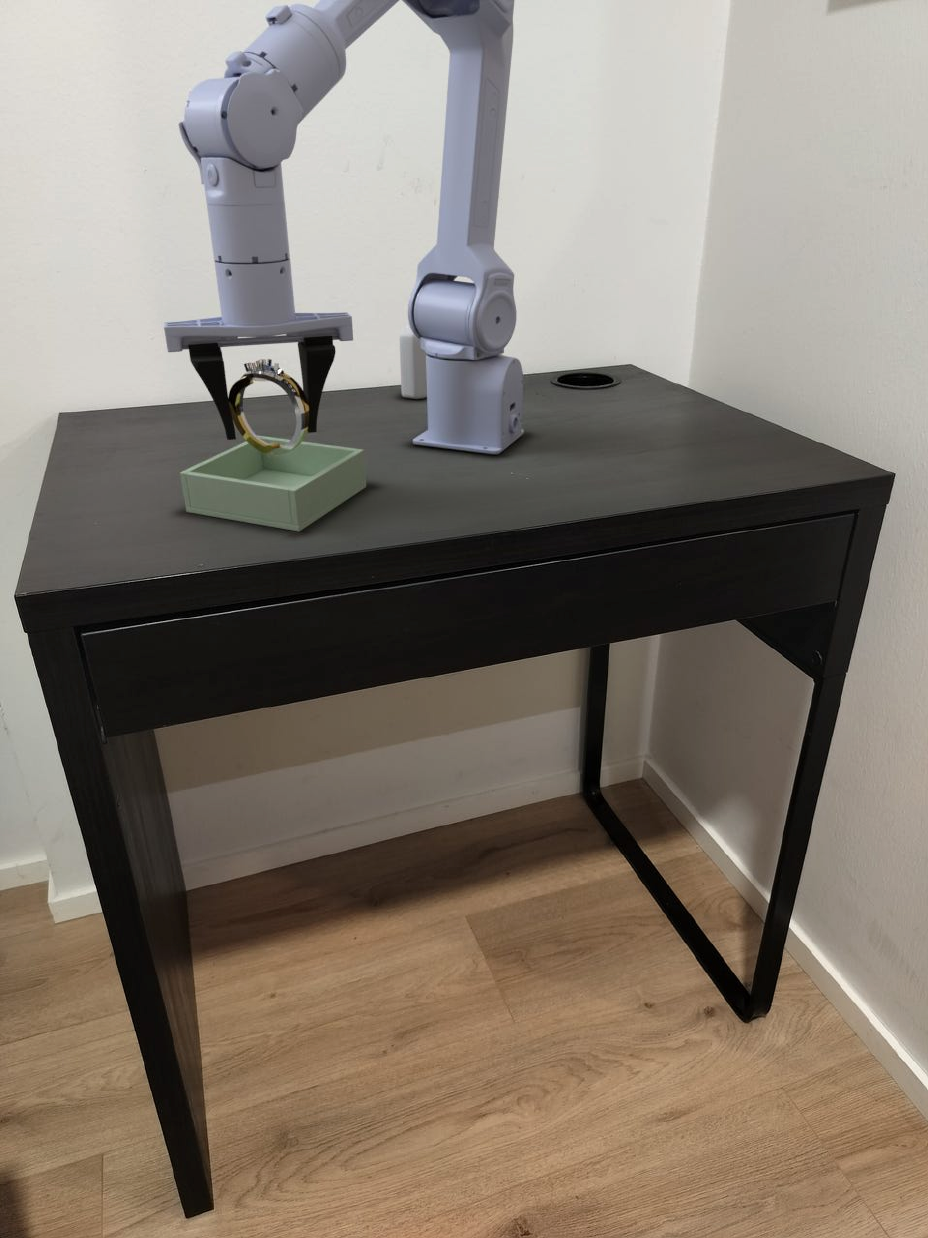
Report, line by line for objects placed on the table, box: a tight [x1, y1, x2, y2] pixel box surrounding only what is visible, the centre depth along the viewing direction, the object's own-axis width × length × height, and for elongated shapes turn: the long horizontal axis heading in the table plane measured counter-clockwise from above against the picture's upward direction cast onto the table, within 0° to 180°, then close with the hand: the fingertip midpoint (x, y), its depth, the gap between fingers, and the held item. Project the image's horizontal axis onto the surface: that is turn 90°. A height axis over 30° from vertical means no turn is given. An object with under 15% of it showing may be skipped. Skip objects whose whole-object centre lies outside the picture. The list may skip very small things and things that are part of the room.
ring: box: [228, 358, 309, 457], centre depth 73 cm, size 7×3×8 cm, turn 64°
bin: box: [179, 435, 367, 532], centre depth 76 cm, size 11×11×4 cm
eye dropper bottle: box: [399, 323, 427, 400], centre depth 105 cm, size 4×6×12 cm
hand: (271, 432), depth 74 cm, fingers closed on ring, 6 cm apart
